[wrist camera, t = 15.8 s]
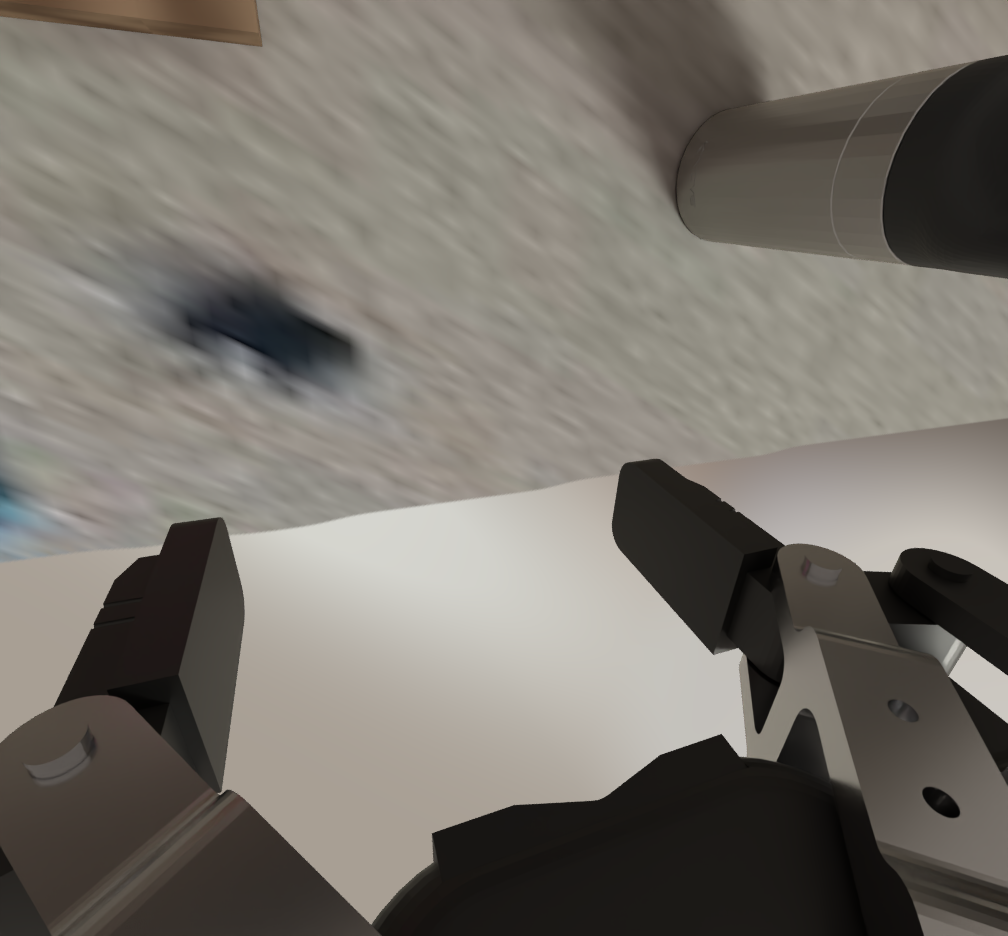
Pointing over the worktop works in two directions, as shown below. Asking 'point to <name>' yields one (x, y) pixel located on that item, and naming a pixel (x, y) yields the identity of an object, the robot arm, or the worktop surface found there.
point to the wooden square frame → (150, 16)
